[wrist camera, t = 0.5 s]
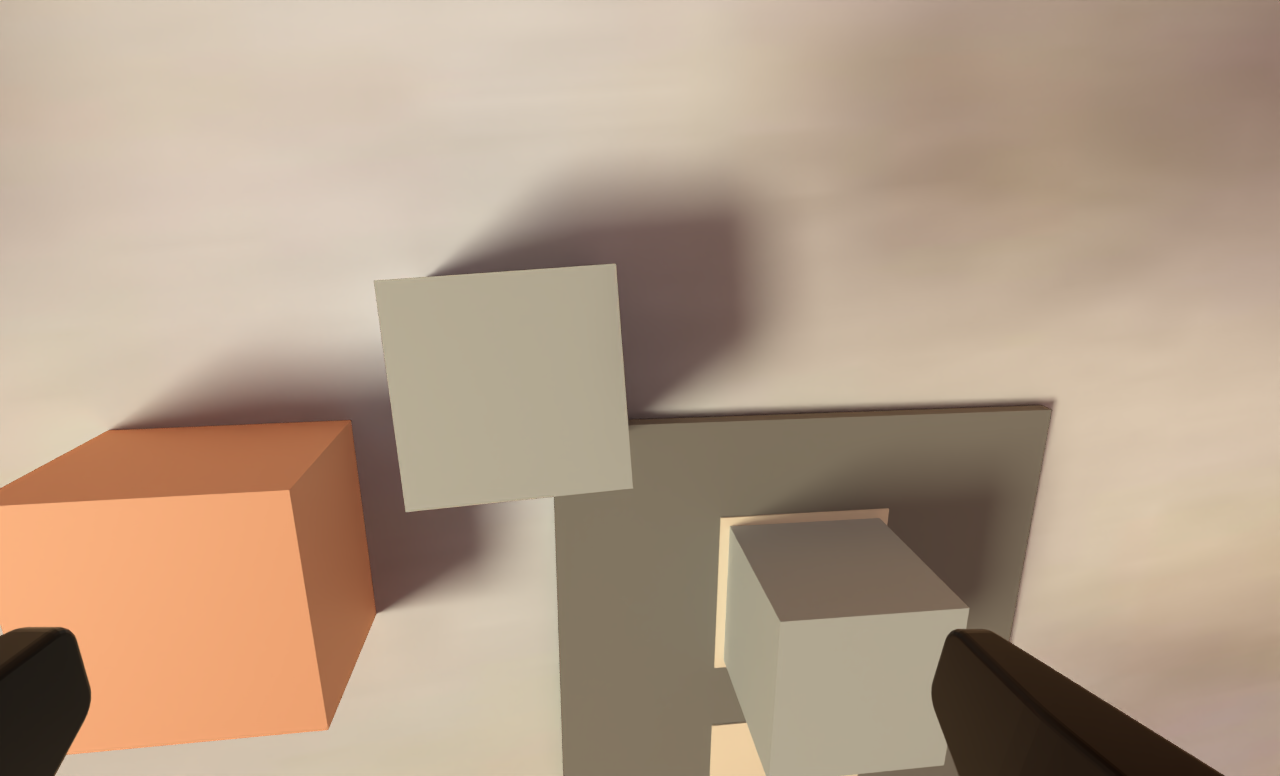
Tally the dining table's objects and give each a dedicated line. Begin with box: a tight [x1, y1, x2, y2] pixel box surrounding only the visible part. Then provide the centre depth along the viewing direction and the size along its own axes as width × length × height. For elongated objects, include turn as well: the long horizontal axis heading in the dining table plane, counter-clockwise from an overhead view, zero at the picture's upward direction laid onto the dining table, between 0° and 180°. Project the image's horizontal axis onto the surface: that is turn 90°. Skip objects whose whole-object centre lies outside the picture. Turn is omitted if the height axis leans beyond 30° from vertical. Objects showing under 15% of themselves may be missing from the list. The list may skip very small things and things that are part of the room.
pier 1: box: [374, 264, 633, 512], centre depth 17 cm, size 5×5×5 cm
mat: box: [554, 405, 1052, 776], centre depth 24 cm, size 20×16×1 cm
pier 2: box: [724, 518, 969, 776], centre depth 20 cm, size 5×5×5 cm
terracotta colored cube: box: [0, 420, 376, 755], centre depth 18 cm, size 6×6×5 cm
